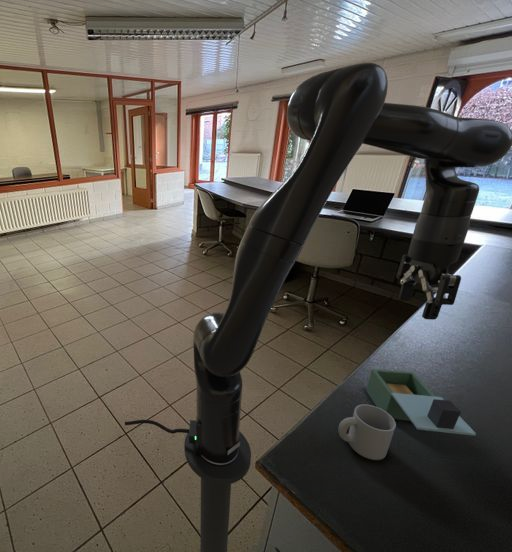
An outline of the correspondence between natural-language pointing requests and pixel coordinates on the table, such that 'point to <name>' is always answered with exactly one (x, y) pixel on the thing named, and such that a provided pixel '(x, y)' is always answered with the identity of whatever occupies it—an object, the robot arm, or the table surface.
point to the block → (399, 389)
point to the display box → (383, 393)
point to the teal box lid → (433, 413)
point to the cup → (368, 431)
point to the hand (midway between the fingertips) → (415, 308)
